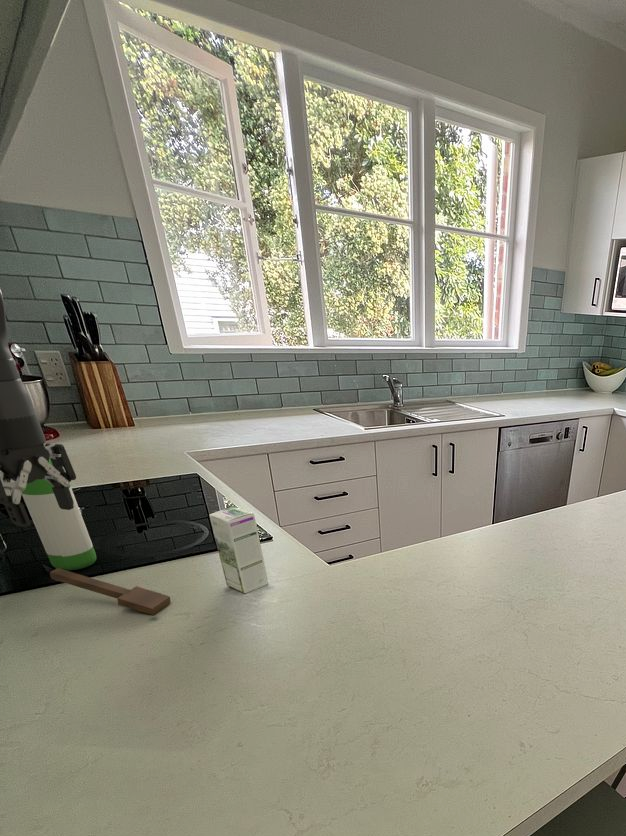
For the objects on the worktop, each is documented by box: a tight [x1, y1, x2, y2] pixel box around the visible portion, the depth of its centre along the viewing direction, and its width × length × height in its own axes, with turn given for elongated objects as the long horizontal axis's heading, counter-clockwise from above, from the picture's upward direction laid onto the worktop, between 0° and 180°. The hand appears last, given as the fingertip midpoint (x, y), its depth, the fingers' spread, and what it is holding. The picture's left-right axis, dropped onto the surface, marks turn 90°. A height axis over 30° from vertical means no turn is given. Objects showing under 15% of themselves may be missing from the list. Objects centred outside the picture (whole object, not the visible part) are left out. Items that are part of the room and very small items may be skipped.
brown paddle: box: [49, 568, 172, 616], centre depth 96 cm, size 20×5×1 cm, turn 81°
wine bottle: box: [21, 458, 97, 572], centre depth 102 cm, size 8×8×30 cm
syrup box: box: [208, 506, 269, 594], centre depth 101 cm, size 6×6×14 cm
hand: (46, 517), depth 90 cm, fingers open, 8 cm apart
